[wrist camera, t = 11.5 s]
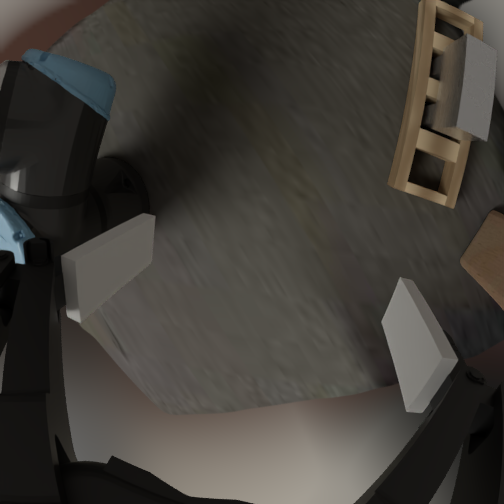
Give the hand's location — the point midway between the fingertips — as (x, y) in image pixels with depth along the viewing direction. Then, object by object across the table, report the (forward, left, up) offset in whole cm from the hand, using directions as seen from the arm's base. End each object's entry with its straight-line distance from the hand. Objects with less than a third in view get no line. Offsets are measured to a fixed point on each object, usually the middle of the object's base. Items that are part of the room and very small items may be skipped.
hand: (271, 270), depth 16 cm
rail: (+16, +18, -27) cm, 36 cm away
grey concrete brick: (+16, +18, -27) cm, 36 cm away
